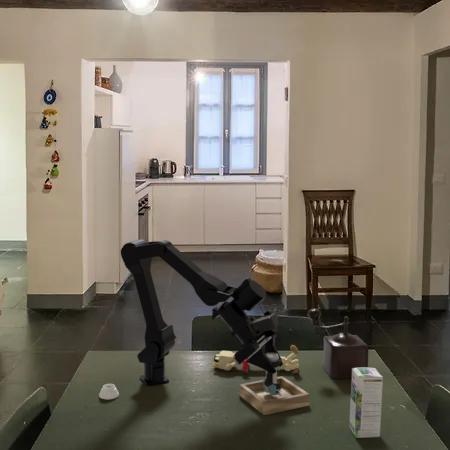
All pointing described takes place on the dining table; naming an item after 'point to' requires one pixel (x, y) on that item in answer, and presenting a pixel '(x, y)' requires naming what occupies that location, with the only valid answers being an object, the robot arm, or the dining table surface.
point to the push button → (272, 376)
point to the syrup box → (366, 402)
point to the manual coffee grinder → (341, 349)
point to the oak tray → (274, 404)
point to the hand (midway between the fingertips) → (278, 369)
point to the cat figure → (228, 361)
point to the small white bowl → (108, 392)
